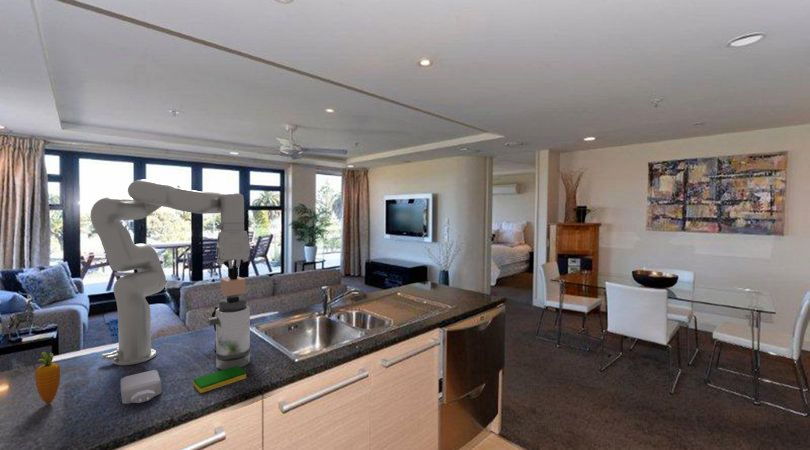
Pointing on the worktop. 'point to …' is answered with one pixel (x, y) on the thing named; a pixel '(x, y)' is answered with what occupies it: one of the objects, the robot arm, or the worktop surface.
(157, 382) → the charger
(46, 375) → the carrot
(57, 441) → the worktop surface
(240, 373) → the dish sponge
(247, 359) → the airpot
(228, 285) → the airpot button
